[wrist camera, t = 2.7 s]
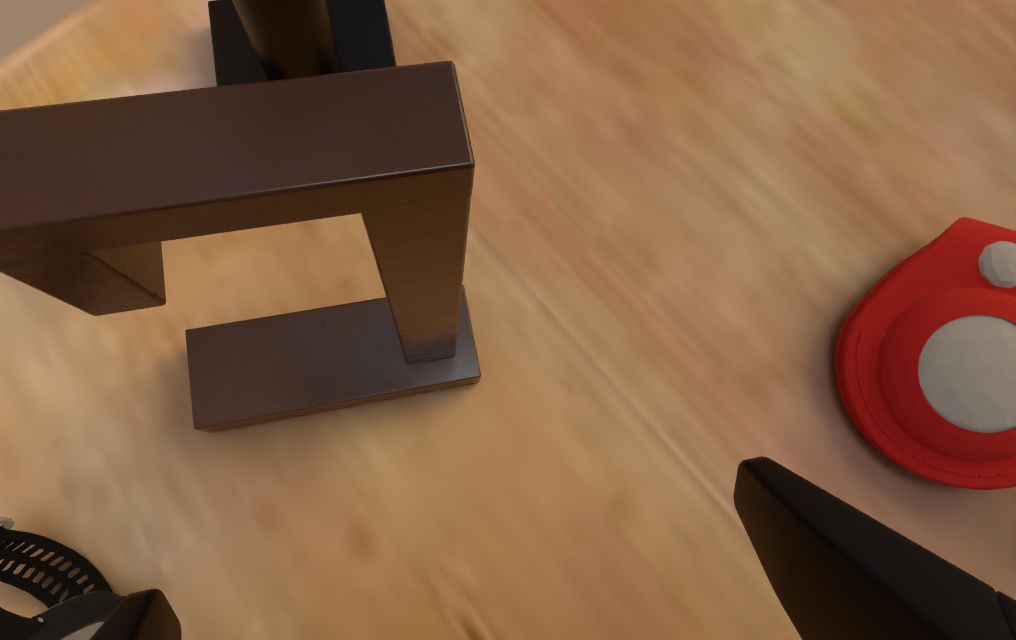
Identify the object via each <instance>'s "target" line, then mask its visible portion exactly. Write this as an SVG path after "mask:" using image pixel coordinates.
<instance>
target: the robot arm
mask: <svg viewBox="0 0 1016 640" xmlns="http://www.w3.org/2000/svg"><path fill="white" fill-rule="evenodd" d="M734 504H735V507H736V510H737V512H738V515H739V517H740V519H741V521H742V523H743V525H744V528H745V530H746V532H747V534H748V536H749V538H750V540H751V543H752V545H753V547H754V549H755V551H756V553H757V555H758V558H759V560H760V562H761V564H762V566H763V568H764V571H765V573H766V575H767V577H768V579H769V581H770V583H771V585H772V587H773V589H774V591H775V593H776V595H777V597H778V599H779V601H780V602H781V604H782V606H783V608H784V610H785V611H786V613H787V615H788V616H789V618H790V620H791V621H792V623H793V625H794V626H795V628H796V630H797V631H798V633H799V635H800V636H801V638H802V640H1016V600H1014V599H1012V598H1010V597H1009V596H1007V595H1005V594H1003V593H1002V592H999V591H997V592H995V590H994V589H993V587H991V586H989V585H988V584H986V583H984V582H982V581H981V580H979V579H977V578H975V577H974V576H972V575H970V574H968V573H967V572H965V571H963V570H962V569H960V568H958V567H956V566H955V565H953V564H951V563H949V562H948V561H946V560H944V559H943V558H941V557H939V556H937V555H936V554H934V553H932V552H930V551H929V550H927V549H925V548H923V547H922V546H920V545H918V544H917V543H915V542H913V541H911V540H910V539H908V538H906V537H904V536H903V535H901V534H899V533H898V532H896V531H894V530H892V529H891V528H889V527H887V526H885V525H884V524H882V523H880V522H878V521H877V520H875V519H873V518H872V517H870V516H868V515H866V514H865V513H863V512H861V511H859V510H858V509H856V508H854V507H853V506H851V505H849V504H847V503H846V502H844V501H842V500H840V499H839V498H837V497H835V496H834V495H832V494H830V493H828V492H827V491H825V490H823V489H821V488H820V487H818V486H816V485H814V484H813V483H811V482H809V481H808V480H806V479H804V478H802V477H801V476H799V475H797V474H795V473H794V472H792V471H790V470H789V469H787V468H785V467H783V466H782V465H780V464H778V463H776V462H775V461H773V460H771V459H769V458H767V457H756V458H752V459H747V460H743V461H741V463H740V464H739V466H738V471H737V477H736V483H735V489H734ZM181 636H182V635H181V626H180V622H179V620H178V618H177V616H176V614H175V613H174V611H173V609H172V607H171V606H170V604H169V602H168V601H167V599H166V597H165V595H164V594H163V592H162V591H161V590H159V589H150V590H145V591H140V592H136V593H132V594H129V595H128V596H126V597H125V598H124V599H123V600H122V601H121V602H120V603H119V605H118V606H117V607H116V608H115V609H114V611H113V612H112V613H111V614H110V615H109V617H108V618H107V619H106V620H105V621H104V623H103V624H102V625H101V626H100V627H99V629H98V630H97V631H96V632H95V634H94V635H93V636H92V637H91V638H90V640H181Z"/></svg>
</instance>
